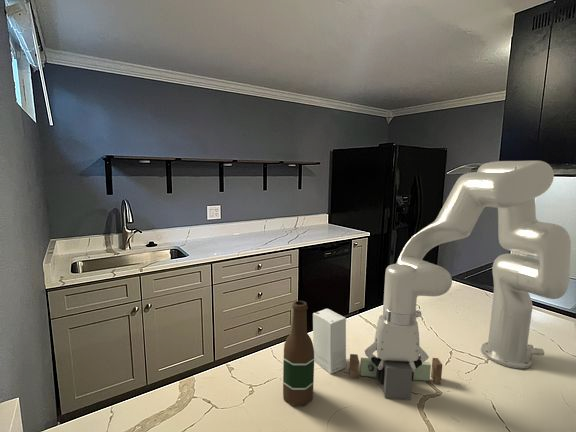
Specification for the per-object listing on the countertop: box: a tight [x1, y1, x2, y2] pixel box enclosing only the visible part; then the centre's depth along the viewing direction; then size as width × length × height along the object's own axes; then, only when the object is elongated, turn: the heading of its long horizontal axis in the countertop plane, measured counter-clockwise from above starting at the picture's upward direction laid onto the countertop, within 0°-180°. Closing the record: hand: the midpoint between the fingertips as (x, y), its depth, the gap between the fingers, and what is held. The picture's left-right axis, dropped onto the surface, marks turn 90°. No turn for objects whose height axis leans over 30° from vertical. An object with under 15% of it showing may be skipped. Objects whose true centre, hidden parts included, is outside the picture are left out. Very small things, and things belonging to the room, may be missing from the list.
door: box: [359, 357, 432, 382], centre depth 82 cm, size 18×2×4 cm, turn 85°
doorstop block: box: [380, 360, 413, 401], centre depth 78 cm, size 6×7×8 cm
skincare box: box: [312, 308, 347, 374], centre depth 88 cm, size 8×6×15 cm
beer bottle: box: [282, 300, 315, 407], centre depth 74 cm, size 8×8×24 cm
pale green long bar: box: [348, 353, 443, 385], centre depth 83 cm, size 23×3×6 cm, turn 85°
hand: (394, 381), depth 78 cm, fingers closed on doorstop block, 6 cm apart
